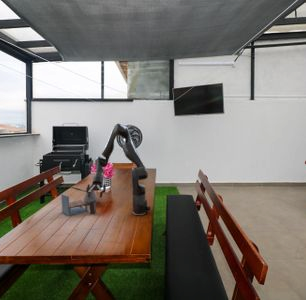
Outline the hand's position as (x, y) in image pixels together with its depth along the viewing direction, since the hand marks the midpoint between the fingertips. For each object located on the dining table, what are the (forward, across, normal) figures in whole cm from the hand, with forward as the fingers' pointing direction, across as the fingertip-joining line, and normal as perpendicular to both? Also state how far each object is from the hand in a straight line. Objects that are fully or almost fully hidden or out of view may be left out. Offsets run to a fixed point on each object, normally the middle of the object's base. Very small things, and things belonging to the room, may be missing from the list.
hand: (94, 197), depth 191 cm
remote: (+11, 0, -4) cm, 12 cm away
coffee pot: (-4, +14, -19) cm, 24 cm away
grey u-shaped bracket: (+9, +14, -6) cm, 18 cm away
